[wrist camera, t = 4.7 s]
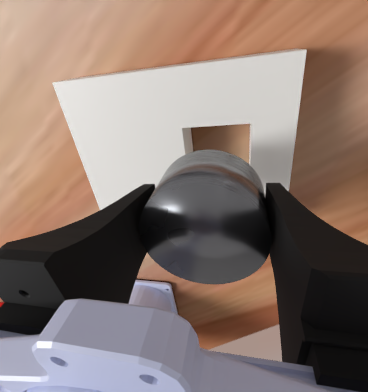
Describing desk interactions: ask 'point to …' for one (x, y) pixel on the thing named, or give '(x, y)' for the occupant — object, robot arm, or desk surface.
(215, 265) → the cylinder
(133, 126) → the plate
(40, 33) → the desk surface
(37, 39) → the desk surface
